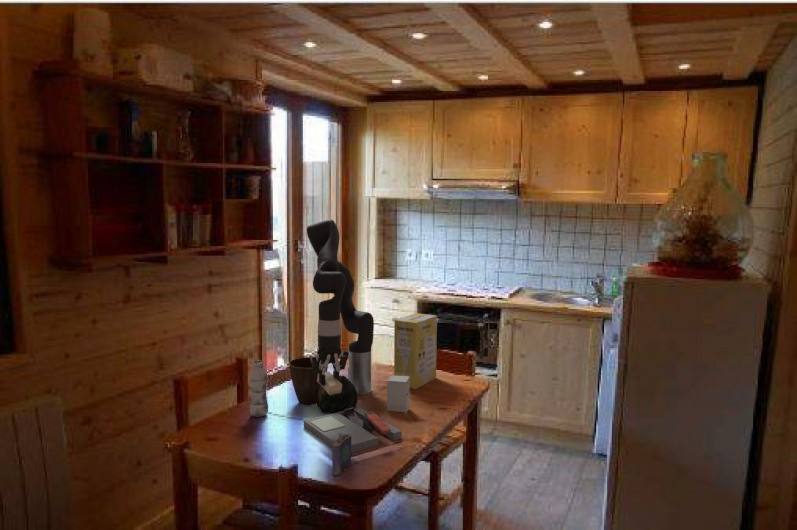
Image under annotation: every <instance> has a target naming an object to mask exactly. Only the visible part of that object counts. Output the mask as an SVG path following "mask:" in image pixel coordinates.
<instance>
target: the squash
mask: <svg viewBox="0 0 797 530" xmlns="http://www.w3.org/2000/svg"><path fill="white" fill-rule="evenodd" d="M339 382H340V383H341V384H342V390H341V393H337V394H332V395H329V394H328V393H327V392H326V390H325V389H324V388H323V387H322V386H320V388H319V390H318V391H317V394H316V404H315V405H316V406H317V408H318V410H320V411H321V412H322V413H323V414H333V413H337V412H341V411H345V409H348V408H352V407H354V408H357V404H358V395H357V391H356V388H355V386H354V385H353V384H352V382H350V381H349V380H348V377H346V375H339Z"/></svg>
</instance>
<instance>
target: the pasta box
mask: <svg viewBox="0 0 797 530" xmlns="http://www.w3.org/2000/svg"><path fill="white" fill-rule="evenodd" d="M393 327H394V328H393V329H394V333H393V334H394V335H393V336H394V337H393V338H394V340H393V342H394V343H393V346H394V352H393V357H394V358H393V360H394V361H393V365H394V366H393V376H409V389H414V390H416V389H418V388H420V387H422V386H424V385H426V384H428V383H429V382H432V381H433V380H435V379H437V353H438V351H437V347H438V346H437V341H438V339H437V337H438V336H437V335H438V334H437V333H438V329H437V328H438V315H433V314H428V313H427V314H426V313H418V312H417V313H412V314H409V315H407V316H404V317H403V316H402V317H400V318H397V319H394V326H393ZM434 378H435V379H434Z"/></svg>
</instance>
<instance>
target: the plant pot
mask: <svg viewBox="0 0 797 530" xmlns="http://www.w3.org/2000/svg"><path fill="white" fill-rule="evenodd" d="M309 357H310V356H307V357H299V358H298V357H297V358H295V359H292V360H289V363H288V366H289V371H290V372H289V373H290V378H291V382H292V386H293V389H294V393H295V396H296V398H297V401H298V403H299V405H301V406H306V407H307V406H308V407H309V406H316V405H317V404H316V394H317V391H318V390H319V388H320V386H321V385H320V384H319V383H318V382H317V377H318V374H317V373H315V372H314V371H313V368H312V365H311V362H310V358H309ZM317 363H318V366H319V363H320V358H319V357H318V361H317ZM319 367H320V366H319ZM328 370H329V366H328V367H327V368H326V371H325V372H328Z"/></svg>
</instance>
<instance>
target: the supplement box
mask: <svg viewBox="0 0 797 530" xmlns="http://www.w3.org/2000/svg"><path fill="white" fill-rule="evenodd" d="M409 409H410V388H409V376H394V375H393V374H392V375H390V377H389V378H388V379H387V381H386V411H388V412H400V413H401V412H402V413H404V414H407V413H408V411H409Z"/></svg>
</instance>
